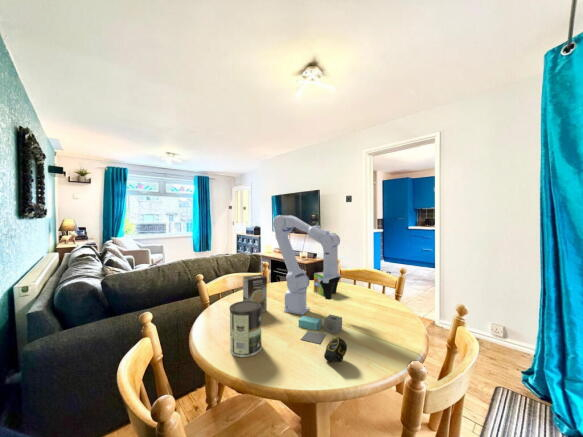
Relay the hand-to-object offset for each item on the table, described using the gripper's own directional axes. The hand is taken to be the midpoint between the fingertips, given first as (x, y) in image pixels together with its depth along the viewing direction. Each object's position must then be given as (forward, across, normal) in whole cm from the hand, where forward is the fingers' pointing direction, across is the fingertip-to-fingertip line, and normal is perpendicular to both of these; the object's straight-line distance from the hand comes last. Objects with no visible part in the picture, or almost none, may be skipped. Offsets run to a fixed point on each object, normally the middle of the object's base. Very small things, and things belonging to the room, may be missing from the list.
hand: (330, 296), depth 100 cm
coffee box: (+11, -4, +34) cm, 36 cm away
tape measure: (+11, -27, -9) cm, 30 cm away
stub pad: (+10, -16, +2) cm, 19 cm away
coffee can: (+11, -31, +20) cm, 38 cm away
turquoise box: (+10, -8, +6) cm, 14 cm away
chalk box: (+11, +32, +12) cm, 36 cm away
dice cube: (+11, -8, -3) cm, 13 cm away
